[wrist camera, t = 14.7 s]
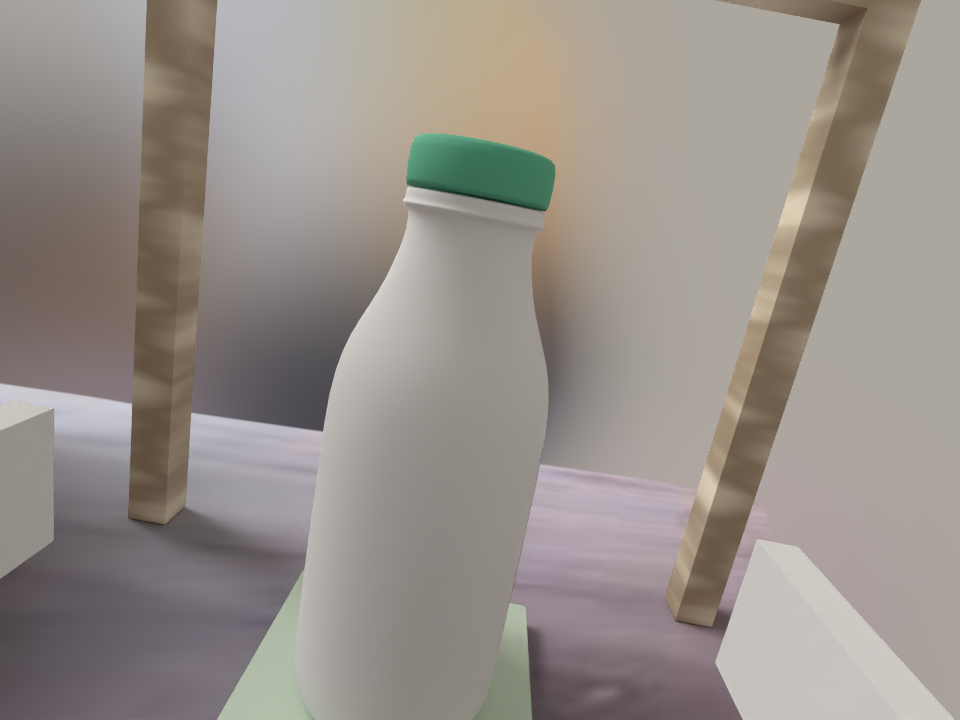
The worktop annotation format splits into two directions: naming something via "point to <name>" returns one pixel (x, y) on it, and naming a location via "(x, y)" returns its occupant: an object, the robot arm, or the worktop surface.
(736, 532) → the door frame
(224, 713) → the sage mat
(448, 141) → the milk bottle
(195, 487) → the worktop surface
